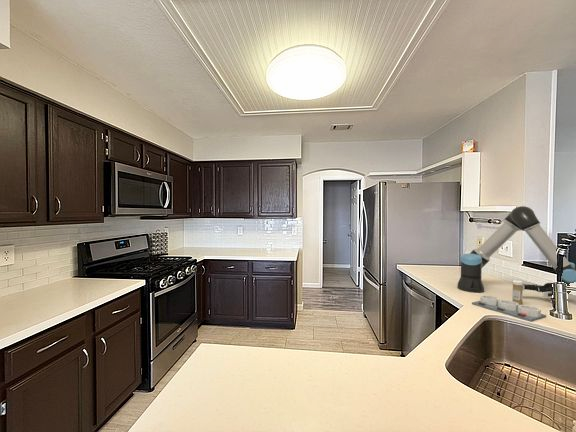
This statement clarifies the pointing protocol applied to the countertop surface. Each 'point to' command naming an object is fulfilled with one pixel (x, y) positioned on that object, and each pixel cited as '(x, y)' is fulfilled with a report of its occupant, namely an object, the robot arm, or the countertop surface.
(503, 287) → the countertop surface
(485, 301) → the breaker board
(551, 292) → the robot arm
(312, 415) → the countertop surface
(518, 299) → the sprinkles bottle
